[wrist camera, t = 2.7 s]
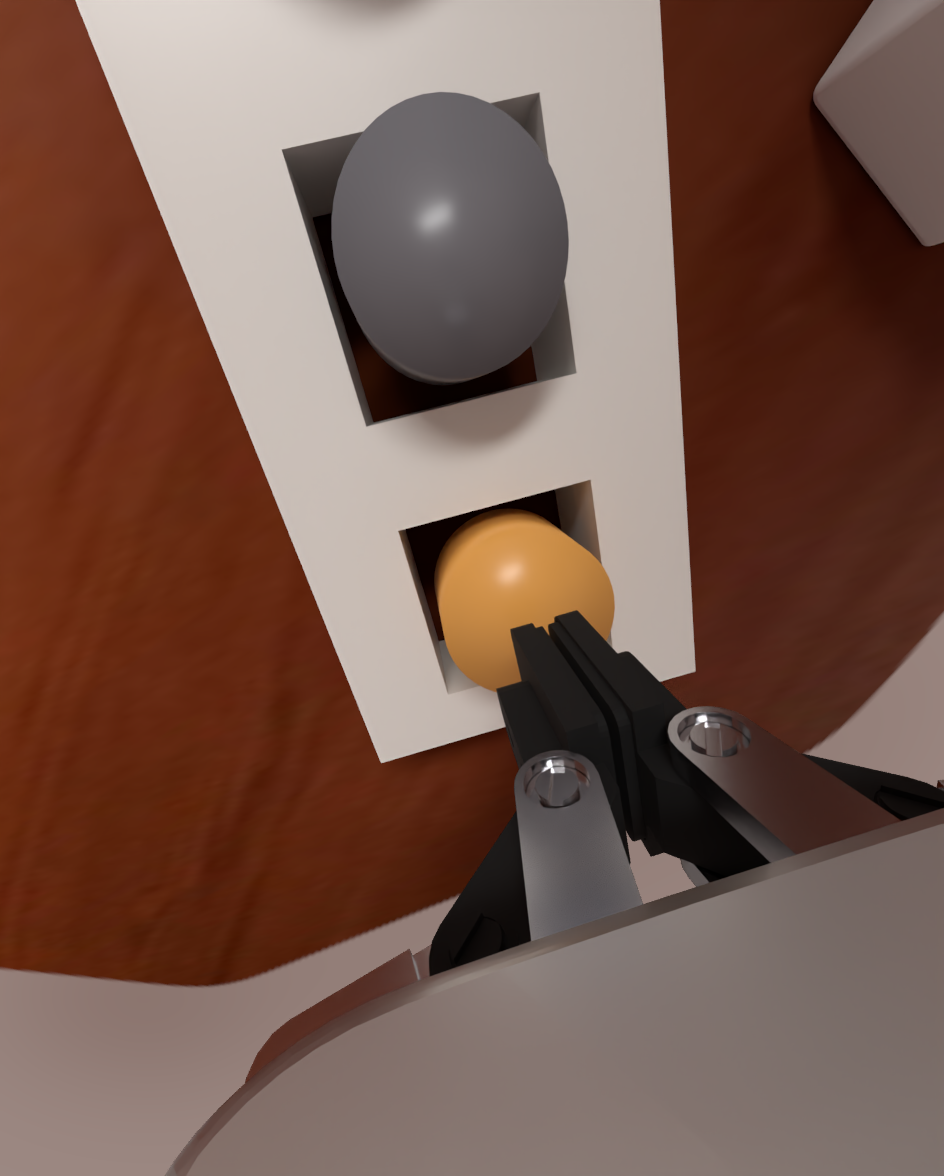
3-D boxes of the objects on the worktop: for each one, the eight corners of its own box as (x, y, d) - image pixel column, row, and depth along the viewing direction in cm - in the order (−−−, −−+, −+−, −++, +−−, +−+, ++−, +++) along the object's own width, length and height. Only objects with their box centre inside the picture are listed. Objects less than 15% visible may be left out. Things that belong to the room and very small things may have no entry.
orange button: (417, 530, 15) (422, 562, 12) (561, 491, 16) (603, 513, 12) (453, 657, 17) (466, 714, 14) (581, 621, 18) (623, 669, 14)
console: (-18, -384, 10) (-273, -868, 6) (533, -472, 10) (608, -962, 7) (384, 698, 20) (381, 763, 17) (643, 625, 21) (695, 671, 17)
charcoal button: (321, 199, 12) (293, 122, 9) (508, 156, 12) (548, 66, 9) (380, 403, 14) (375, 402, 11) (540, 362, 14) (583, 349, 11)
